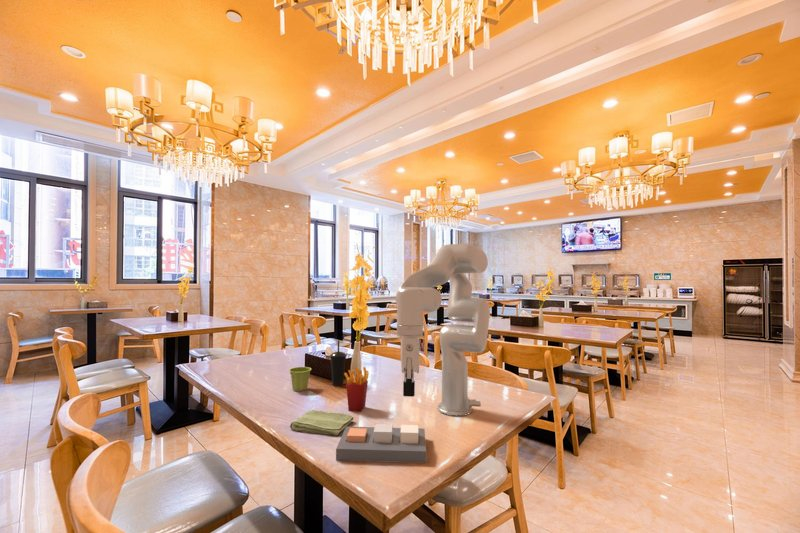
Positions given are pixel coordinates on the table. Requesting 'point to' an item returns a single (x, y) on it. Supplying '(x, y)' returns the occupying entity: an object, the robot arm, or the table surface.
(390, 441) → the grey key
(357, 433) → the terracotta key
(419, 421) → the table surface
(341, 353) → the drinking cup
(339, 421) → the washcloth
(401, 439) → the cream key
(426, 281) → the robot arm
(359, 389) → the french fries
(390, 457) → the keypad base
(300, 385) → the plant pot
